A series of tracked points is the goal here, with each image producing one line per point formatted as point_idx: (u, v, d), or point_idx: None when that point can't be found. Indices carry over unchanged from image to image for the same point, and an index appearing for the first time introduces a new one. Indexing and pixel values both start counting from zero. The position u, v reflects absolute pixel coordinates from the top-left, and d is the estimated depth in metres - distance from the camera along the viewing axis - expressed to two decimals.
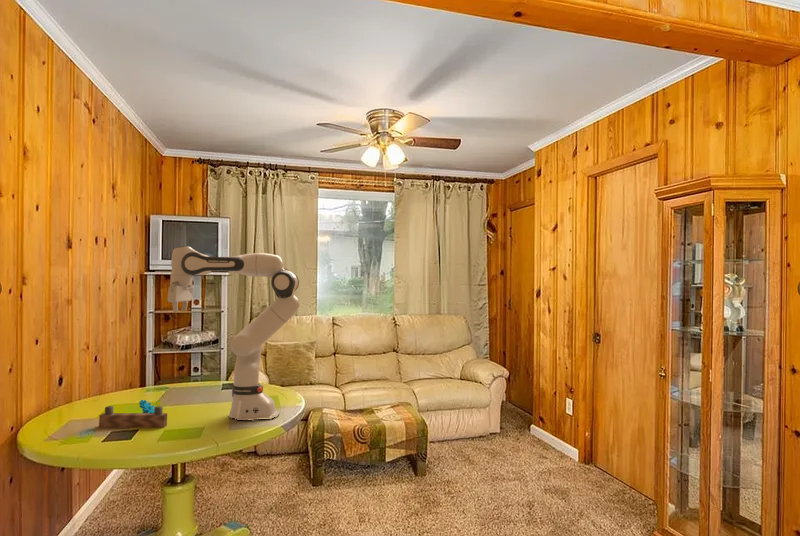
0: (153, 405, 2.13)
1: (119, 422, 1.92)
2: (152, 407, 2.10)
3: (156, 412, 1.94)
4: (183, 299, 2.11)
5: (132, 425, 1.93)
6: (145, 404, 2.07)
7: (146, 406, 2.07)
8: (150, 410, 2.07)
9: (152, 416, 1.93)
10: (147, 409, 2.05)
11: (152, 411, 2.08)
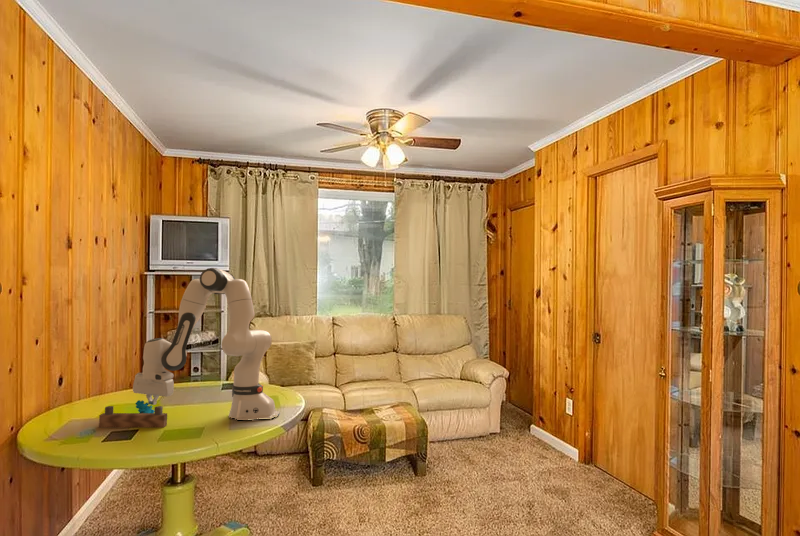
0: None
1: (119, 422, 1.92)
2: (149, 408, 2.09)
3: (156, 412, 1.94)
4: (146, 392, 2.10)
5: (132, 425, 1.93)
6: (142, 404, 2.06)
7: (142, 407, 2.05)
8: (146, 411, 2.05)
9: (152, 416, 1.93)
10: (143, 410, 2.04)
11: (148, 412, 2.06)
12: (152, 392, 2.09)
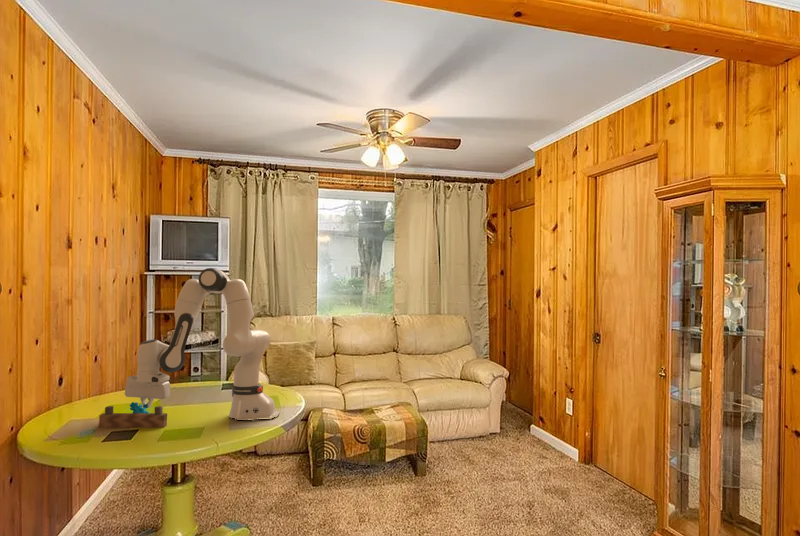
0: None
1: (119, 422, 1.92)
2: (143, 409, 2.06)
3: (156, 412, 1.94)
4: (141, 395, 2.05)
5: (132, 425, 1.93)
6: (136, 406, 2.03)
7: (137, 408, 2.02)
8: (141, 412, 2.02)
9: (152, 416, 1.93)
10: (138, 411, 2.01)
11: None
12: (147, 395, 2.04)
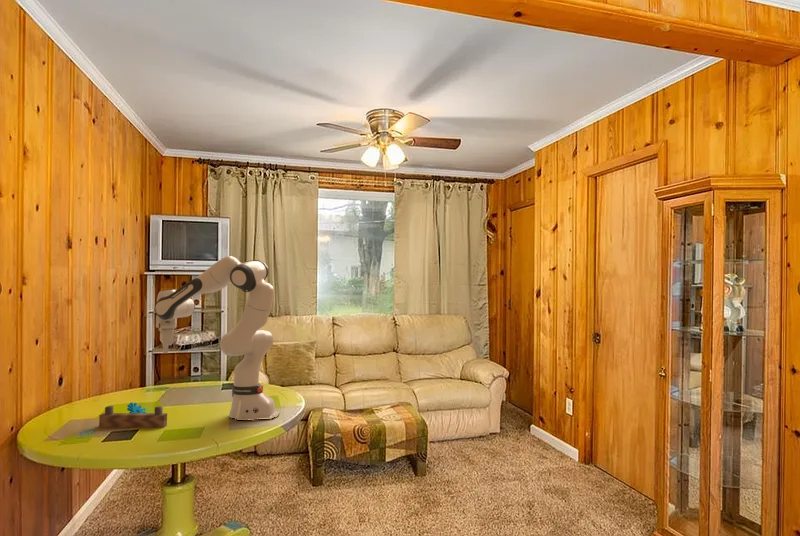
0: (144, 408, 2.08)
1: (119, 422, 1.92)
2: (142, 410, 2.05)
3: (156, 412, 1.94)
4: (161, 340, 2.20)
5: (132, 425, 1.93)
6: (134, 407, 2.03)
7: (134, 409, 2.02)
8: None
9: (152, 416, 1.93)
10: (135, 412, 2.00)
11: None
12: (161, 340, 2.17)
